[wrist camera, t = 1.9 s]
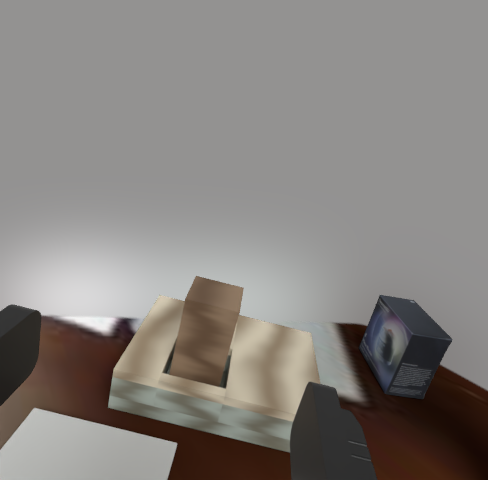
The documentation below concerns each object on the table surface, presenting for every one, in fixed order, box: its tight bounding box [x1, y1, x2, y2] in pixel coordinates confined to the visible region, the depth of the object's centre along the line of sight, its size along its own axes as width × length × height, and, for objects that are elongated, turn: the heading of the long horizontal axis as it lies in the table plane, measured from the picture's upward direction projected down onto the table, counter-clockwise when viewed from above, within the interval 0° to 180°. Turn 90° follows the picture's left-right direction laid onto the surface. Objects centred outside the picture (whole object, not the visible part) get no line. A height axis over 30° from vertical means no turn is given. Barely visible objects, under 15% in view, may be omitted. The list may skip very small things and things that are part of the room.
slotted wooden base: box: [108, 295, 320, 452], centre depth 45 cm, size 22×16×5 cm
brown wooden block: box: [169, 276, 243, 387], centre depth 40 cm, size 5×5×12 cm
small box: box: [359, 295, 452, 399], centre depth 55 cm, size 11×6×10 cm, turn 5°
